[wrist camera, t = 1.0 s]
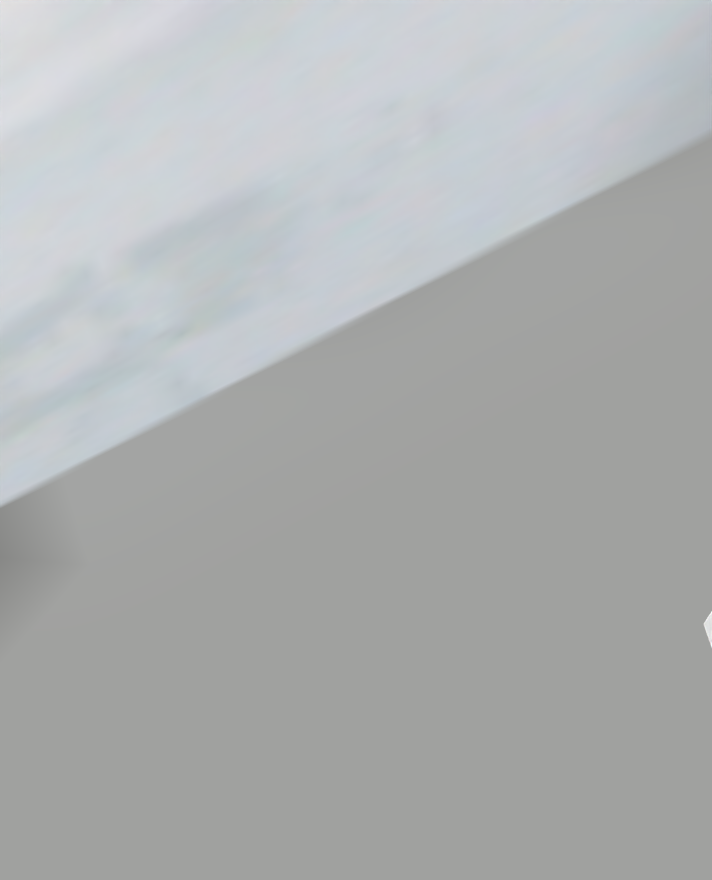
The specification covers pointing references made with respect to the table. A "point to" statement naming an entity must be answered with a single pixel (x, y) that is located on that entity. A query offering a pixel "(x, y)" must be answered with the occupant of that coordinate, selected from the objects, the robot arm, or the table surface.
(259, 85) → the table surface
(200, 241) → the table surface
